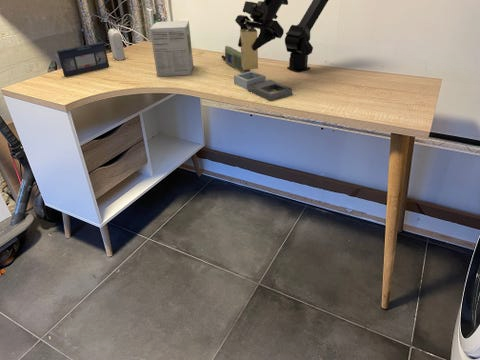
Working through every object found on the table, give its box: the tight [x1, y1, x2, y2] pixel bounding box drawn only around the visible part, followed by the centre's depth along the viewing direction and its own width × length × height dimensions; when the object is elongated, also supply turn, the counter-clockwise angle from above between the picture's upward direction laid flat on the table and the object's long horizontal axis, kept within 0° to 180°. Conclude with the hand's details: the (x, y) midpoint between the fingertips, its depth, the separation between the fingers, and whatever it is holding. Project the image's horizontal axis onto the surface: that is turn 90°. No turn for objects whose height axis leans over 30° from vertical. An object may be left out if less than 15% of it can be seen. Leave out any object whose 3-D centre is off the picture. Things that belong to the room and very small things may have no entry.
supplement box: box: [149, 20, 194, 77], centre depth 145 cm, size 13×13×18 cm
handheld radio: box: [220, 45, 251, 74], centre depth 151 cm, size 7×3×25 cm
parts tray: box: [233, 70, 267, 90], centre depth 132 cm, size 8×8×3 cm
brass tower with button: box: [239, 28, 259, 70], centre depth 126 cm, size 5×5×12 cm
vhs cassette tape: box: [56, 41, 110, 78], centre depth 151 cm, size 18×3×10 cm, turn 129°
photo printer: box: [107, 28, 126, 61], centre depth 167 cm, size 10×4×12 cm, turn 28°
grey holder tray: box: [247, 79, 293, 102], centre depth 124 cm, size 12×9×2 cm
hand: (246, 48), depth 125 cm, fingers closed on brass tower with button, 7 cm apart
